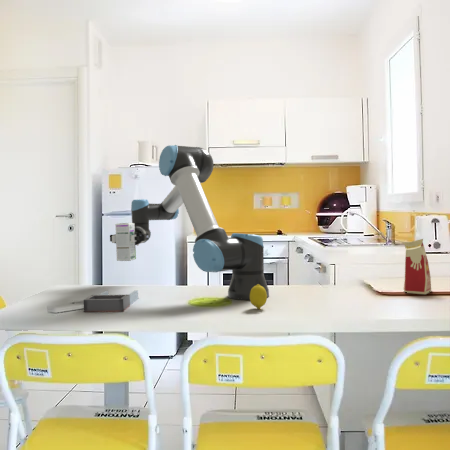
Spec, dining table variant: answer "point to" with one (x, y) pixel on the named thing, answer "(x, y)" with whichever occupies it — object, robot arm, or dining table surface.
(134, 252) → the syrup box
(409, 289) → the red paper bag
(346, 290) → the dining table surface
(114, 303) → the trap bin
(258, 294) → the lemon
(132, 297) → the guide channel
